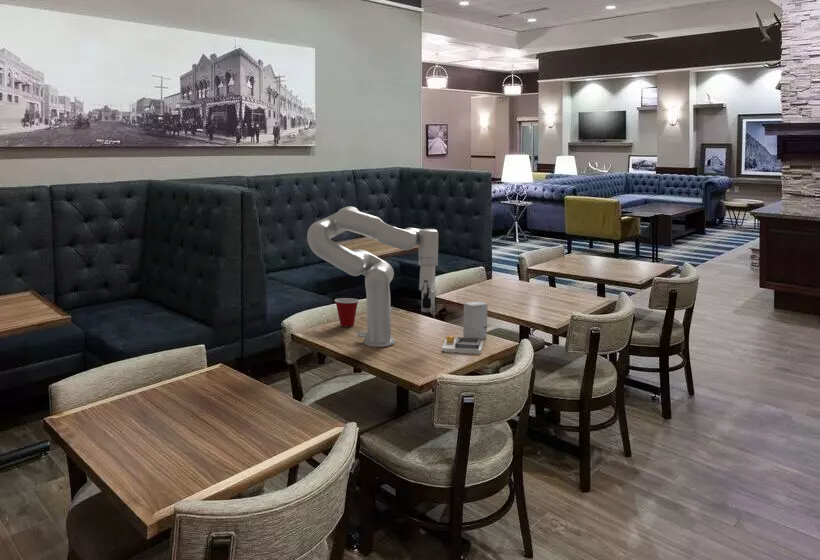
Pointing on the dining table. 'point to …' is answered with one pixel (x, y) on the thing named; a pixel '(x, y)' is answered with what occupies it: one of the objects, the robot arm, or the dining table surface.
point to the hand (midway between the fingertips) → (427, 305)
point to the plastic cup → (346, 310)
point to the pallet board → (464, 345)
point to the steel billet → (431, 302)
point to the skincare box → (475, 320)
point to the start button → (449, 338)
